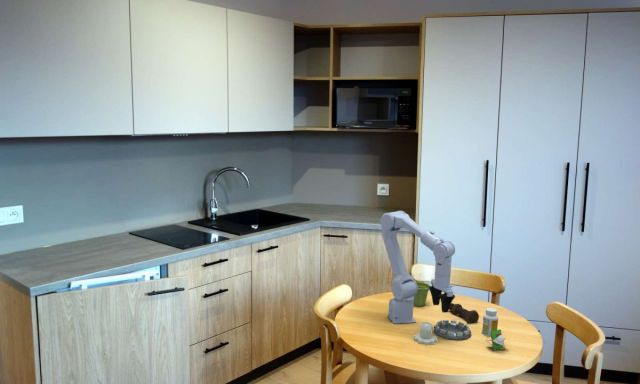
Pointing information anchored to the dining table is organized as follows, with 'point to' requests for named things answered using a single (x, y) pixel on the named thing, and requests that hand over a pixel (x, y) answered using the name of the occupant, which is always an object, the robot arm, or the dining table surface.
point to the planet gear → (425, 334)
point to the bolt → (464, 313)
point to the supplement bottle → (490, 321)
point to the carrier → (452, 330)
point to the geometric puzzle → (497, 339)
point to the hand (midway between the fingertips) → (440, 308)
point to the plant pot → (421, 294)
